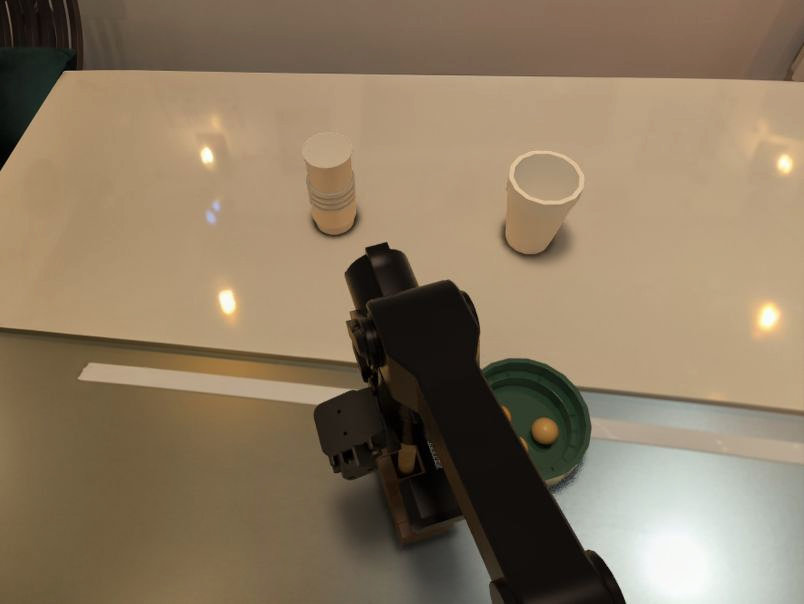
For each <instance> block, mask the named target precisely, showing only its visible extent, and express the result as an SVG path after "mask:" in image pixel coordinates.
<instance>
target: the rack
mask: <svg viewBox="0 0 804 604" xmlns="http://www.w3.org/2000/svg"><path fill="white" fill-rule="evenodd" d="M381 450H382V453H383V454H382V455H381V456H379V457H378V458H377V460H376V462H377V465H378V469H377V470H378V473H379V477H380V479H381V483H382V486H383V490H384V493H385V497H386V499H387V502H388V506H389V509H390V513H391V516H392V519H393V522H394V523H393V524H394V526H395V529H396V531H397V535H398V540H399V542H400V545H401V546H405V545H408V544H412V543H414V542H418V541H422V540H424V539H428V538H430V537H435V536H437V535H440V534H443V533H447V532H449V531H452V530H453V527H454V525H455V523H452V524H449V525H446V526H443V527H439V528H436V529H433V530H430V531H427V532H423V533H420V534H417V533H415V532H414V531H412V530H410V528H409V525H408V522H407V519H406V516H405V513H404V510H403V506H402V503H401V500H400V496H399V492H398V489H397V484H398V483H400V482H402V481H404V480H405V479H407V478H410V477H413V476H416V475H420V474H423V473H424V472H423V469H422V466H421V463H420V460H419V457H418V455H417V452H416V456H415V464H414V467H415V468H416V472H417V473H415V474H413V475H412V476H409V477H405V478H402V479H400V478H399V477H398V473H397V472H396V471H397V470H396V468H395V466H394V464H398V456H399V450H398V451H395V452H392V453H388V454H387V451H386V448H384V449H381Z"/></svg>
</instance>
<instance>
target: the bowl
mask: <svg viewBox="0 0 804 604" xmlns="http://www.w3.org/2000/svg"><path fill="white" fill-rule="evenodd" d="M481 370H482V372H483V374H484V376H485V378H486V380H487V381H488V383H489V385H490V387H491V388H492V390H493V392H494V394H495V395H496V397H497V399H498V400H499V402H500V404H501V405H502V406H504V407H506V408H507V409H508V410H509V412H510V414H511V423H512V425H513V427H514V428H515V430H516V432H517V433H518V435H519V436H520V437H521V438H523V439H524V440H525V442H526V443H527V446H528V453H529V454H530V456H531V458H532V460H533V461H534V463H535V465H536V466H537V468H538V470H539V472H540V473H541V475H542V477H543V479H544V480H545V482H546V484H547V486H548V487H549V488H550V487H554V486H557V485H558V484H559V483H561V482H562V481H563V480H564V479H565V478H567V477H568V476H569V475H570V474H571V473H572V472H573V471H574V469H576V467H577V466H578V465H579V464H580V462H581V461H582V460H583V458H584V456H585V455H586V453H587V450H588V449H589V447H590V444H591V435H592V429H593V428H592V427H593V425H592V421H591V415H590V411H589V407H588V405H587V403H586V401H585V399H584V397H583V395H582V394H581V391H580V390H579V388H578V387H577V386H576V385H575V384H574V383H573V382H572V381H571V380H570V379H569V378H568V377H567V376H566V375H565V374H564V373H562V372H561V371H558V370H557V369H556V368H554V367H552V366H551V365H549V364H548V363H544V362H541V361H538V360H534V359H531V358H527V357H526V358H523V357H509V358H508V357H507V358H504V359H499V360H497V361H494V362H489V364H487V365H486V366H484V367H483V368H481ZM539 418H549V419H551V420H552V421H554V422H555V423H556V425H557V427H558V430H559V435H558V438H557V439H556V441H555V442H553V443H551V444H547V445H546V444H541V443H539V442H537V441H536V440H535V439H534V437H533V435H532V431H531V428H532V425H533V423H534V422H535V421H536V420H537V419H539Z"/></svg>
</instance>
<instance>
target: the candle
mask: <svg viewBox="0 0 804 604" xmlns="http://www.w3.org/2000/svg"><path fill="white" fill-rule="evenodd" d="M353 151H354V150H353V144H352V142H351V140H350V139H349V138H348V137H347V136H346V135H344V134H342V133H339V132H336V131H322V132H319V133H315V134H314V135H311V136H309V138H308V139H306V141H305V142H304V143H303V146H302V148H301V156H302V158H303V161H304V162H305V168H306V177H305V180H306V188H307V194H308V200H309V203H310V206H311V216H312V218H313V220H314V221H315V224H316V226H317V228H318V229H319V231H321V232H323V233H325V234H327V235H333V236H335V235H341V234H344V233H346V232H347V231H349V230H350V229H351V228H352V227H353V225H354V223H355V217H356V215H357V204H356V197H357V192H356V178H355V177H356V176H355V172H354V170H353V167H352V166H353V165H352V155H353Z"/></svg>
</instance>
